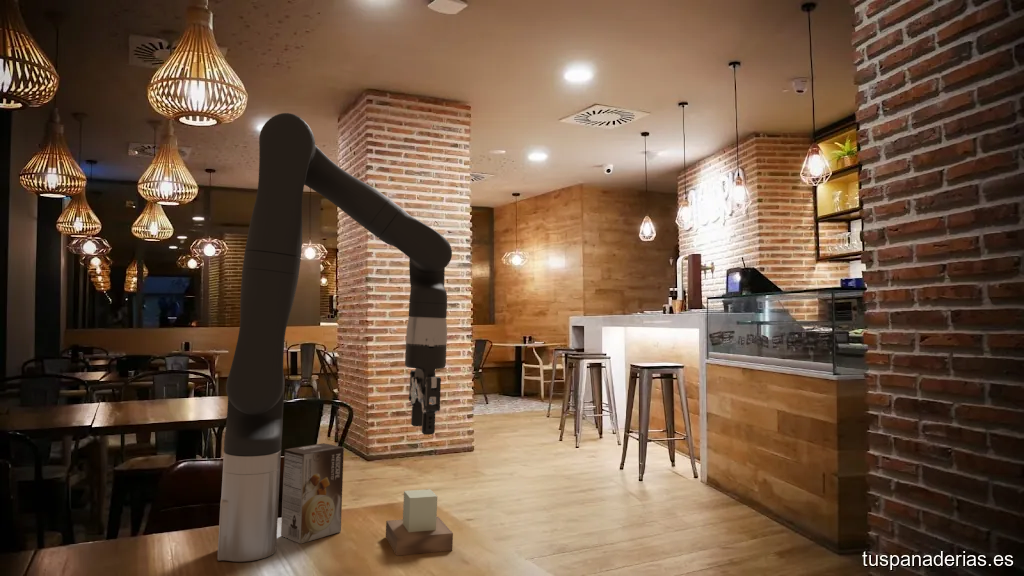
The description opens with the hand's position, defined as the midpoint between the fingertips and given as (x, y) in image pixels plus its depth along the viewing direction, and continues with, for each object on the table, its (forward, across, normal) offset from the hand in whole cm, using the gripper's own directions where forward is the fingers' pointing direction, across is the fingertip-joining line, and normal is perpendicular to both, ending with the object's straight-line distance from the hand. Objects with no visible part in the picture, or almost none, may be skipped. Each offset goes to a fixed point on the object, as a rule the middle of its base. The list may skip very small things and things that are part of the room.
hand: (422, 430), depth 123 cm
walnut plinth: (+20, +1, 0) cm, 20 cm away
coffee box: (+21, -9, -18) cm, 29 cm away
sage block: (+17, +1, 0) cm, 17 cm away
